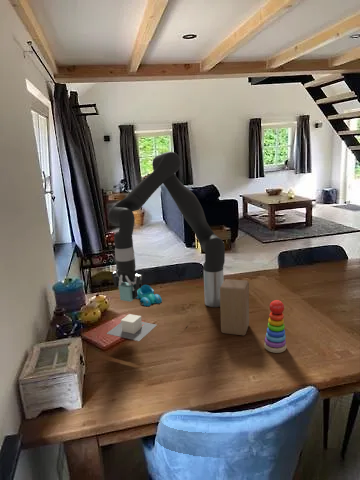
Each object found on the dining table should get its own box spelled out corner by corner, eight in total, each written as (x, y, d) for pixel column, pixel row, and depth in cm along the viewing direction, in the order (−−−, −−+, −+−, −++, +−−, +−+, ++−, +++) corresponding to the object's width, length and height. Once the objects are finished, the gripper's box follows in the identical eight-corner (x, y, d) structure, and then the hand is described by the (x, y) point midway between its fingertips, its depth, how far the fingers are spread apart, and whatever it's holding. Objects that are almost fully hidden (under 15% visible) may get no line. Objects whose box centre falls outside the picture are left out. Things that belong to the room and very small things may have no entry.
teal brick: (137, 296, 149) (136, 283, 148) (130, 301, 145) (129, 287, 144) (127, 295, 152) (126, 281, 150) (120, 299, 147) (118, 286, 146)
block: (249, 324, 152) (249, 279, 147) (245, 336, 143) (245, 289, 138) (225, 322, 155) (224, 278, 150) (220, 333, 146) (219, 287, 141)
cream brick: (142, 327, 153) (141, 316, 152) (134, 333, 148) (133, 322, 147) (130, 324, 156) (129, 313, 155) (122, 331, 151) (120, 320, 149)
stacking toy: (282, 356, 129) (283, 307, 124) (261, 350, 133) (261, 303, 128) (289, 345, 135) (290, 298, 131) (268, 340, 140) (268, 295, 135)
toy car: (150, 290, 194) (149, 278, 192) (164, 302, 179) (163, 289, 177) (131, 295, 190) (130, 283, 188) (144, 308, 174) (142, 295, 172)
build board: (157, 326, 155) (157, 324, 154) (139, 343, 143) (139, 341, 142) (126, 320, 162) (126, 318, 161) (106, 335, 150) (106, 333, 150)
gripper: (145, 256, 144) (148, 296, 148) (116, 253, 150) (120, 291, 155) (135, 262, 138) (138, 303, 142) (104, 258, 144) (109, 298, 148)
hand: (128, 297), depth 148 cm, fingers closed on teal brick, 5 cm apart
